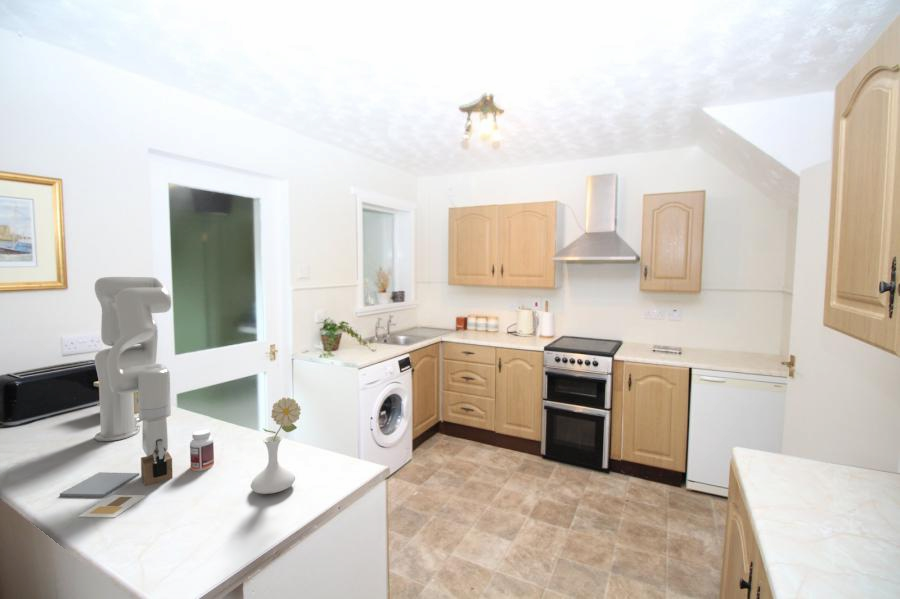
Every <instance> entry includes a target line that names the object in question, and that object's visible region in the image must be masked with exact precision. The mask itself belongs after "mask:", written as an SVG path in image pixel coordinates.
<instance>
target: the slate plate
mask: <svg viewBox="0 0 900 599" xmlns="http://www.w3.org/2000/svg"><path fill="white" fill-rule="evenodd" d="M139 476H140V472H139V473H138V472H102V471H101V472H100V471H99V472H97V473H95V474H94V475H92V476H90V477H88V478H85V480H84V479H83V480H82V481H80V482H79V483H76V484H75V485H72V486H71V487H69V488H67V489H66V490H63V491H61V492H60V493H59V497H67V498H69V497H75V498H105V497H107V496H108V495H111V494H112V493H114V492H115V491H117V490H119V489H120V488H122V487H124V486H125V485H126V484H129V483H130V482H131V481H133V480H134V479H136V478H137V477H139Z"/></svg>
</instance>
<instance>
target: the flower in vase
mask: <svg viewBox="0 0 900 599" xmlns="http://www.w3.org/2000/svg"><path fill="white" fill-rule="evenodd" d="M272 405H273V406H272V410H271V416H270V417H271V418H272V419H273V422H275V424H276V425H280V427H279V428H278V430H277V432H276V431H274V430H268V429H265V428H262V429H263V430H264V432H267V433H272V434H275V435H269V436H267V437H264V438H263V439H262V442H263V443H264V444H265V445H266V448H267V453H268V462H267V466H266V467H265V468H263V470H261V471H260V472H259V473H257V475H256V476H255V477H254V478H253V479H252V480H251V483H250V489H251V490H252V491H253V492H254V493H257V494H260V495H261V494H262V495H267V494H269V495H270V494H276V493H279V492H283V491H285V490H287V489H288V488H290V487H291V486H292V485H293V484H294V482H295V480H296V475H295V474H294V473H293V471H291V470H289V469H288V468H287V467H284V466H282V465H281V464H279V462H278V451H279V450H278V449H279V446H280V443H281V441H282V440H283V436H281V435H278V434H279V432H280V430H281V429H282V431H284V432H285V433H291V432H293V431H295V430H296V429H298V427H297V426H296V425H295V424H294V423H296V422H297V421H298V420H299V419H300V415H301V410H302V409H301V406H300V405H299V403H298V402H297V401H296V399H294V398H290V397H282V398H280V399H278V401H276V402H275V403H273V404H272Z"/></svg>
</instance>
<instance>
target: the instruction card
mask: <svg viewBox="0 0 900 599" xmlns="http://www.w3.org/2000/svg"><path fill="white" fill-rule="evenodd" d="M146 496H147V495H145V494H143V495H142V494H141V495H140V494H139V495H137V494H136V495H135V494H134V495H133V494H130V495H129V494H112V495H110V496H109V497H107V498H106V499H104V500H102V501H101V502H99V503H97V504H95V505H93V507H90V509H88V510H86V511H84V512H83V513H81V514H79V515H78V516H77V517H78V518H106V519H107V518H114V519H115V518H116V517H118V516H119V515H121V514H122V513H124V512H125V511H127V510H128V509H130V508H131V507H133V506H134V505H135V504H137V503H138V502H140V501H141V500H142V499H145V497H146Z"/></svg>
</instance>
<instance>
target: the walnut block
mask: <svg viewBox="0 0 900 599" xmlns="http://www.w3.org/2000/svg"><path fill="white" fill-rule="evenodd" d="M165 455H166V460H167V474H166V475H163V476H160V477H156V478H154V477H153V463H154V460H153V455H150V456H147V455H146V456H142V457H140V470H141V472H140V475H141V476H140V477H141V480H142V482H143V484H144V486H149V485H153V484H155V483H156V484H157V483H160V482H162V481H167V480H170V479H173V457H172V456H171V455H170V453H169V451H168V450H167V451H166V452H165ZM157 456H158V455H156V457H157Z"/></svg>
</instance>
